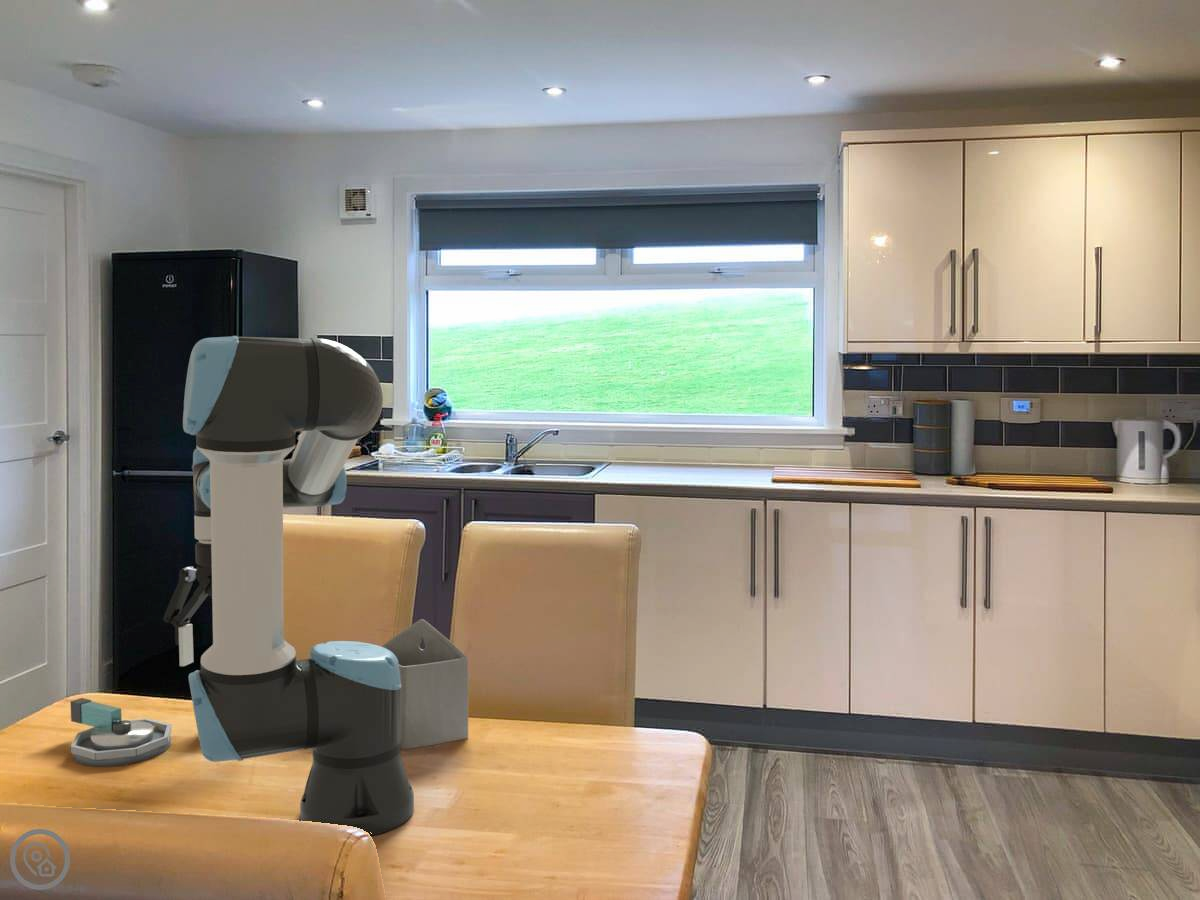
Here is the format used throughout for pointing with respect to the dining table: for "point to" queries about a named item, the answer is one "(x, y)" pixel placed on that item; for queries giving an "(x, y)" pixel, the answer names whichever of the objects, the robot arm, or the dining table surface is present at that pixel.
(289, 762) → the dining table surface
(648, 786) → the dining table surface
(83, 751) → the housing
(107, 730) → the dial
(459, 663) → the planter
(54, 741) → the dining table surface
